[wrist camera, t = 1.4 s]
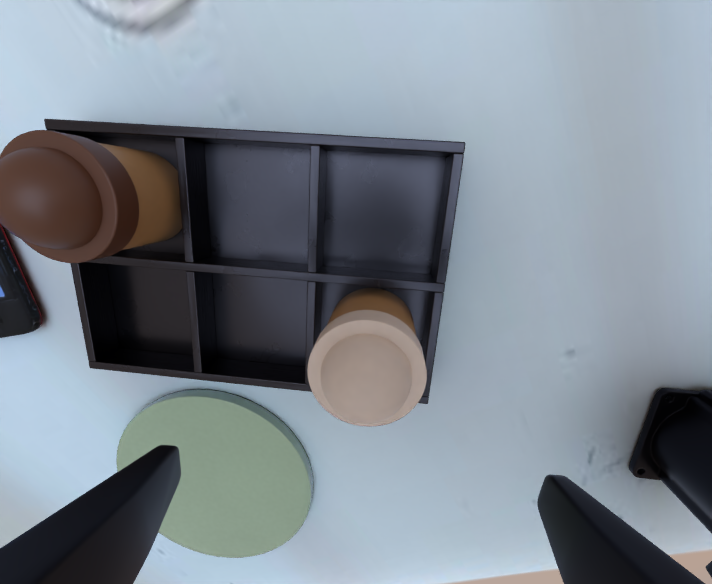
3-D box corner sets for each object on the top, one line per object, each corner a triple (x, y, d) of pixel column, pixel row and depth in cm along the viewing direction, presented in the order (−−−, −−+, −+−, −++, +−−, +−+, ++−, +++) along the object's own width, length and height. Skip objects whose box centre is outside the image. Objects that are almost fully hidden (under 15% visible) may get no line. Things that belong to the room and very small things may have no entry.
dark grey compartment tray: (423, 381, 22) (427, 404, 20) (119, 350, 24) (89, 368, 21) (455, 148, 18) (465, 142, 16) (85, 127, 20) (43, 118, 17)
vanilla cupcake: (411, 371, 22) (423, 465, 14) (326, 362, 22) (295, 450, 15) (421, 289, 20) (441, 346, 13) (329, 281, 20) (296, 332, 13)
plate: (311, 558, 28) (308, 570, 27) (137, 534, 29) (129, 544, 28) (316, 400, 24) (313, 408, 23) (112, 378, 24) (101, 385, 24)
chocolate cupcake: (195, 247, 21) (87, 279, 13) (110, 240, 21) (-43, 267, 14) (188, 150, 19) (60, 123, 12) (96, 145, 19) (-86, 115, 12)
